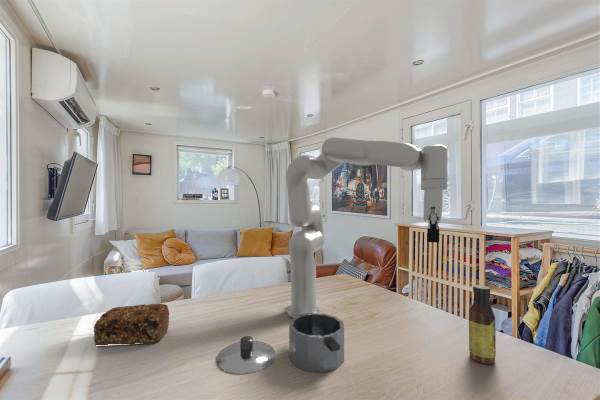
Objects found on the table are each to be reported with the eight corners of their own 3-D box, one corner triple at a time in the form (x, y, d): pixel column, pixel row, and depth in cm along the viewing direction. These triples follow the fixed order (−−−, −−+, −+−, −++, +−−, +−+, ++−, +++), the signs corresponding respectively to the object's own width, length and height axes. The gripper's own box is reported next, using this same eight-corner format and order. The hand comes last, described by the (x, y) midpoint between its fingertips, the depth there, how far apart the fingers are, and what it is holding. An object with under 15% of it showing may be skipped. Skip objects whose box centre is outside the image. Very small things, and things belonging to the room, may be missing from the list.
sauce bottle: (500, 366, 76) (500, 291, 75) (473, 364, 77) (474, 290, 77) (489, 353, 82) (489, 284, 82) (465, 351, 83) (465, 282, 83)
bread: (170, 329, 97) (170, 300, 97) (157, 345, 86) (157, 312, 86) (111, 332, 95) (111, 302, 95) (91, 349, 85) (91, 315, 84)
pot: (279, 344, 87) (279, 315, 87) (322, 334, 93) (322, 307, 93) (308, 385, 68) (308, 347, 68) (360, 369, 74) (360, 334, 74)
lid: (213, 350, 85) (213, 332, 84) (265, 338, 91) (265, 322, 91) (222, 382, 70) (222, 360, 70) (283, 366, 77) (283, 346, 76)
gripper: (421, 186, 99) (421, 235, 99) (419, 184, 84) (418, 243, 84) (446, 185, 96) (445, 237, 96) (448, 184, 80) (447, 245, 81)
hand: (433, 239), depth 90 cm, fingers open, 9 cm apart
